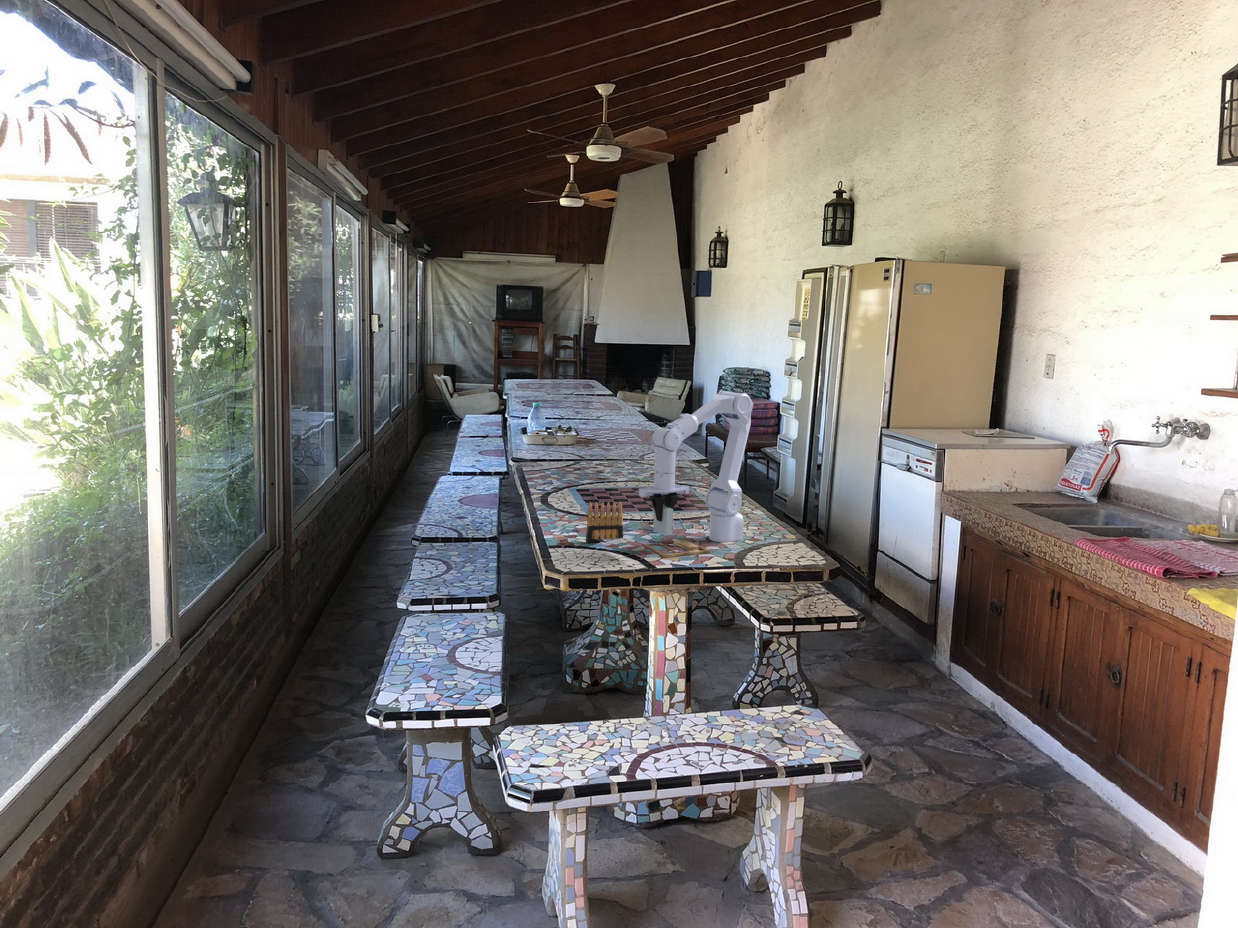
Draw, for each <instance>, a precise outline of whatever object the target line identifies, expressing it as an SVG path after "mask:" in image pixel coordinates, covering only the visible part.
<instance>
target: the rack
mask: <svg viewBox="0 0 1238 928" xmlns="http://www.w3.org/2000/svg"><path fill="white" fill-rule="evenodd" d="M683 540H686V541H688V542H690V543H692V544H694V545H697V546H699V550H700V551H692V552H689V551H685V552H677V551H676V550H674V549H672V548H671V547H669V546H667V545H665V544H663V543H662V542H658V545H661V546H662V547H664V548H666V549H667V550H669V551H671V552H673V553H663V552H661V551H659V550H658V549H656V548H655V547H653V546H650V545H649V544H647V543H645V544H643V546H644V547H646V549H649V550H651V551H653V552H654V553H656V554H658V555H660V556H661V558H663V559H668V558H669V559H671V558H678V557H688V556H696V555H697V556H699V555H707V554H709V555H710V554H711V550H710V549H708V548H706V547H704V546H702V545H700V544H698V543H695V542H694V541H692V540H690V539H688V538H683Z"/></svg>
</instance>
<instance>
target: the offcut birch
mask: <svg viewBox="0 0 1238 928" xmlns="http://www.w3.org/2000/svg"><path fill="white" fill-rule="evenodd" d="M680 548H681V549H684V550H685V551H686V552H692V551H701V550H691V551H689V550H687V549H685V548H683V547H680Z"/></svg>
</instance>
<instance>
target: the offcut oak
mask: <svg viewBox="0 0 1238 928" xmlns="http://www.w3.org/2000/svg"><path fill="white" fill-rule="evenodd" d="M673 544H674V545H676V546H677V547H680V548H681V547H683V548H685V549H687V550H689V551H691V550H699V546H697V545H694V544H692V543H690V542H688V541H686V540H684V539H677V540H673ZM683 548H682V549H683ZM685 549H684V550H685ZM687 550H686V551H687ZM689 551H688V552H689Z"/></svg>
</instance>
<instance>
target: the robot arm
mask: <svg viewBox="0 0 1238 928" xmlns="http://www.w3.org/2000/svg"><path fill="white" fill-rule="evenodd" d="M753 406H754V402H753V401H752V399H751V398H750V396H749V394H747V393H745V392H741V393H739V392H734V391H733V392H732V391H727V390H720V391H719V392H717V393H716V394H713V395H712V398H711V399H710V400H709V401H707V402H706V403H705V404H704V405H702V406H701V407H700V408H698V409H696V411H694V412H693V413H692V414H689V413H680V415H678V416H679V417H677V418H676V419H675V420H674V421H672V422H668V423H667V424H666V426H664V427H657V428H656V429H655V431H654V432H653V433H652V437H650V443H651V445H652V447H653V452H654V470H653V472H654V474H653V475H654V476H653V486H648V487H643V488H641V487H640V488H638V496H639V497H642V498H644V497H648V498H649V499H650V500H649V501H650V502H651V504H652V507H653V511H654V510H655V514H656V520H658V521H662V517H663V505H664V506H667V507H669V508H671V509H673V510H674V509H675V506H676V505H677V503H678V501H679V499H680V496H679V495H678V494H680V495H681V494H685V495H687V494H690V486H689V485H676V463H677V462H676V461H677V459H676V458H677V450H679V448H680V446H681V445H682V442H683V441H684V440H685V439H687V438H688V437H690V436H691V435H693V434H695V433H696V432H697V431H698V429H699V425H700V424H703V423H704V422H706V421H707V420H709V419H711V418H713V417H715V416H717V415H718V414H720V415H721V416H722V417H723V418H725V419H726V421H727V422H728V424H729V426H730V427H729V431H728V437H727V440H726V443H725V444H726V445H725V449H724V452H723V456H722V457H723V458H722V462H721V465H720V469H719V470H720V471H719V474H718V478H717V479H715V480H714V481H713V482H712V483H711V484H710V488H709V490H708V491H707V492H706V494H705V499H704V500H705V501H704V502H705V504H706V507H707V508H708V511H709V515H710V516H709V517H710V518H709V535H708V539H709V540H711V541H713V542H718V543H730V542H735V541H743V540H744V527H745V523H744V517H743V515H742V514H741V513H740V509H741V508H742V504H743V503H742V493H743V490H742V488H741V487H740V485H739V483H738V480H739V475H740V472H741V467H742V463H743V458H744V454H745V452H746V451H745V449H746V446H747V440H748V439H749V438H748V437H749V433H750V428H751V426H752V425H751V423H752V418H751V416H752V412H753Z"/></svg>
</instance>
